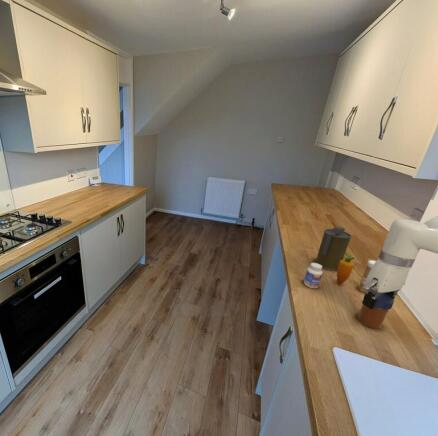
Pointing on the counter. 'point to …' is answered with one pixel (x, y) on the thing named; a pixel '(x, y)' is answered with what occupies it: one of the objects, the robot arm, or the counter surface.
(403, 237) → the robot arm
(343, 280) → the carrot
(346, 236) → the canister
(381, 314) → the jar
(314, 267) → the pill bottle
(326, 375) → the counter surface
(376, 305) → the lid
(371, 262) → the sprinkles bottle
